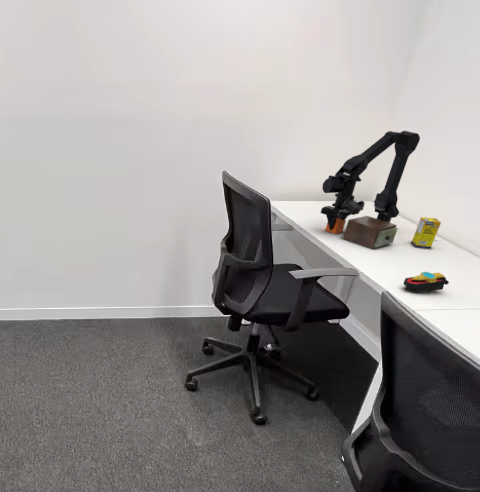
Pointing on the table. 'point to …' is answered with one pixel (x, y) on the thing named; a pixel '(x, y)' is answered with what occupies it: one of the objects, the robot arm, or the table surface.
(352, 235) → the cabinet
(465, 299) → the table surface
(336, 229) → the orange cube
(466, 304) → the table surface
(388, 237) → the drawer
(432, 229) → the supplement box
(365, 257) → the table surface
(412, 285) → the gadget
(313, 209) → the table surface
